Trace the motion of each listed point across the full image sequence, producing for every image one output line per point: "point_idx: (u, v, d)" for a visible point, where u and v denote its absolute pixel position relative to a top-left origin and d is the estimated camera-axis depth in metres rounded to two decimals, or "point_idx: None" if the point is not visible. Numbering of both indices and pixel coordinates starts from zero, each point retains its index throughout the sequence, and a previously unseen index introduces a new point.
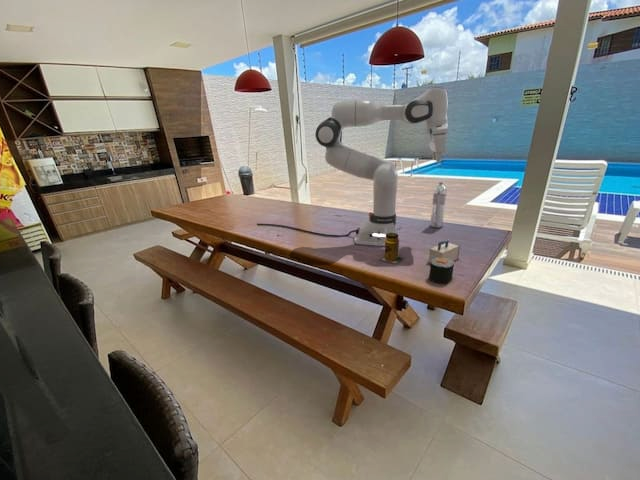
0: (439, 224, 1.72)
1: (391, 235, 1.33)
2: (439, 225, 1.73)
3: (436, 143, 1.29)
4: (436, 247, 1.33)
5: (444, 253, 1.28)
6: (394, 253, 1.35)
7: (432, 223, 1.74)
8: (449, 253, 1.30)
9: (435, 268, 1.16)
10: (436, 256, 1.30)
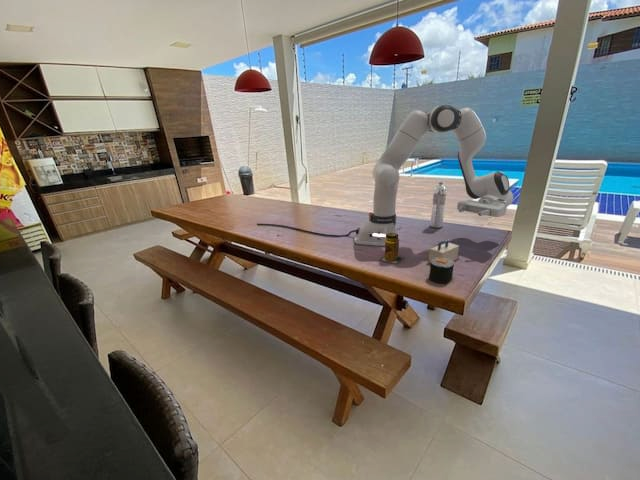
0: (439, 224, 1.72)
1: (391, 235, 1.33)
2: (439, 225, 1.73)
3: (503, 207, 1.31)
4: (436, 247, 1.33)
5: (444, 253, 1.28)
6: (394, 253, 1.35)
7: (432, 223, 1.74)
8: (449, 253, 1.30)
9: (435, 268, 1.16)
10: (436, 256, 1.30)
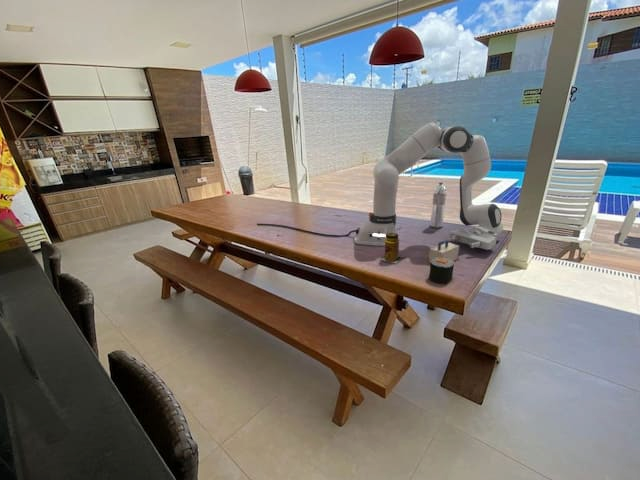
0: (439, 224, 1.72)
1: (391, 235, 1.33)
2: (439, 225, 1.73)
3: (493, 240, 1.35)
4: (436, 247, 1.33)
5: (444, 253, 1.28)
6: (394, 253, 1.35)
7: (432, 223, 1.74)
8: (449, 253, 1.30)
9: (435, 268, 1.16)
10: (436, 256, 1.30)
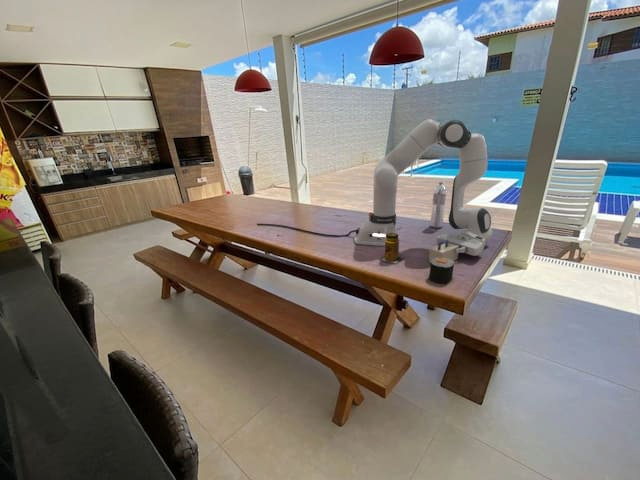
0: (439, 224, 1.72)
1: (391, 235, 1.33)
2: (439, 225, 1.73)
3: (480, 246, 1.30)
4: (436, 247, 1.33)
5: (444, 253, 1.28)
6: (394, 253, 1.35)
7: (432, 223, 1.74)
8: (449, 253, 1.30)
9: (435, 268, 1.16)
10: (436, 256, 1.30)
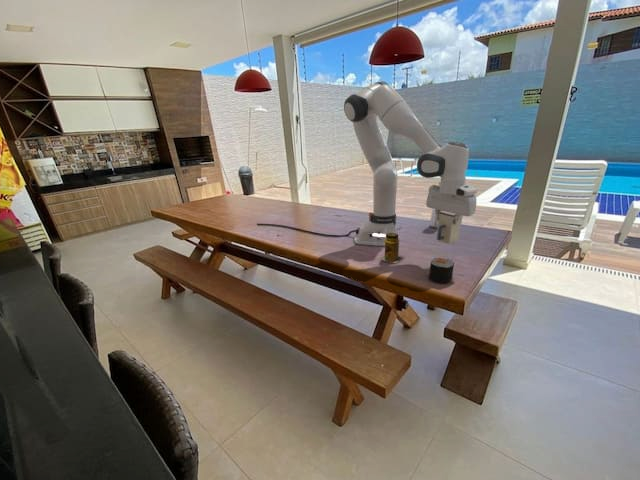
0: None
1: (391, 235, 1.33)
2: None
3: (470, 206, 1.12)
4: None
5: (450, 240, 1.24)
6: (394, 253, 1.35)
7: (432, 223, 1.74)
8: (453, 232, 1.23)
9: (435, 268, 1.16)
10: None
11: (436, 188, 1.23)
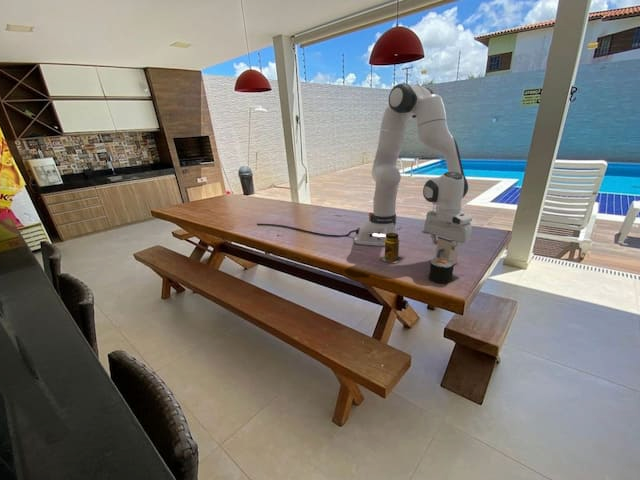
0: None
1: (391, 235, 1.33)
2: None
3: (466, 234, 1.16)
4: None
5: None
6: (394, 253, 1.35)
7: None
8: (451, 256, 1.28)
9: (435, 268, 1.16)
10: None
11: (433, 214, 1.28)
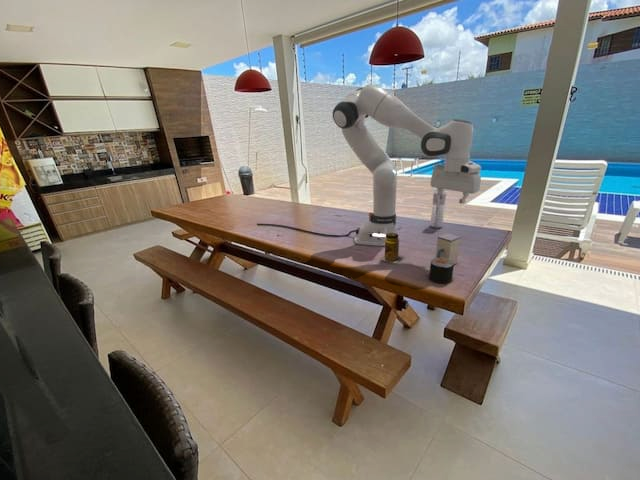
0: (439, 224, 1.72)
1: (391, 235, 1.33)
2: (439, 225, 1.73)
3: (475, 183, 1.13)
4: None
5: None
6: (394, 253, 1.35)
7: (432, 223, 1.74)
8: (451, 256, 1.28)
9: (435, 268, 1.16)
10: None
11: (440, 167, 1.24)
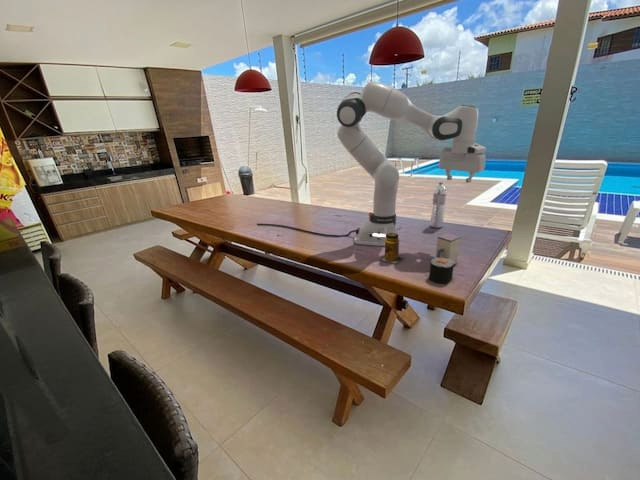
0: (439, 224, 1.72)
1: (391, 235, 1.33)
2: (439, 225, 1.73)
3: (480, 162, 1.24)
4: None
5: None
6: (394, 253, 1.35)
7: (432, 223, 1.74)
8: (451, 256, 1.28)
9: (435, 268, 1.16)
10: None
11: (448, 150, 1.35)
